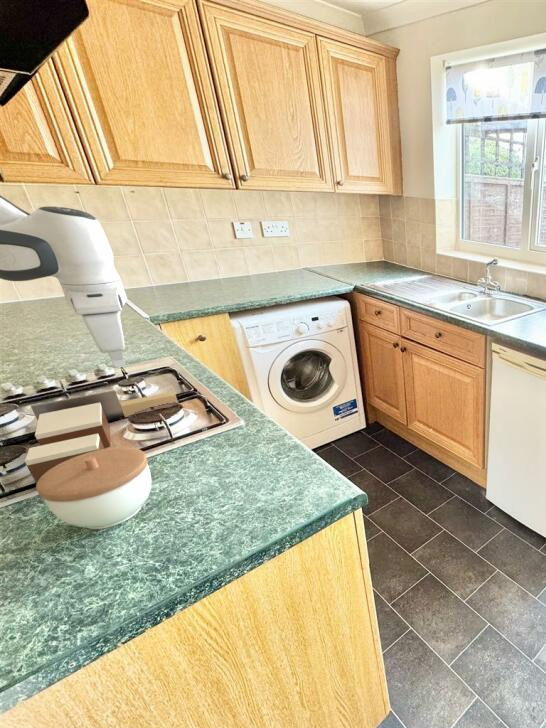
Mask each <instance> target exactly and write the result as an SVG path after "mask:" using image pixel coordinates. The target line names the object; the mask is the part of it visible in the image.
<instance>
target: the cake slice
mask: <svg viewBox="0 0 546 728" xmlns="http://www.w3.org/2000/svg"><path fill="white" fill-rule="evenodd" d="M101 449H105V448H104V446H103V444H102V442H101V439H100V437H99V435H98V434H93V435H89V436H84V437H79V438H75V439H70V440H65V441H60V442H56V443H51V444H46V445H42V446H40V445H38V446H32V447H29V448H28V451H27V453H26V456H25V458H24V463H25V465H26V467H27V469H28V471H29V472H30V473H29V474H31V476H32V478H33V480H34V482H35V485H37V482H38V480H39V479H40V478H41V476H43V475H44V474H45V473H46V472H47V471H49V470H50V469H51V468H53V467H55V466H56V465H58V464H60V463H62V462H64V461H66V460H69V459H71V458H74V457H76V456H79V455H82V454H85V453H89V452H92V451H96V450H101Z"/></svg>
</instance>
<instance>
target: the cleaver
mask: <svg viewBox="0 0 546 728" xmlns="http://www.w3.org/2000/svg"><path fill="white" fill-rule="evenodd" d="M173 402H178V403H179V401H178V398H177V396H176V392H175V391H169V392H164V393H160V394H154V395H150V396H144V397H139V398H134V399H129V400H124V401H120V399H119V397H118V393H117V391H116V390H115V389H114V390H113V389H112V390H108V391H102V392H98V393H93V394H87V395H79V396H75V397H70V398H65V399H59V400H54V401H47V402H44V403H37V404H31V405H30V408H31V410H32V412H33V413H34V417H35V419H36V420H37V421H38V419H39V415H40V414H43V413H49V412H54V411H59V410H64V409H69V408H74V407H79V406H84V405H90V404H95V403H100V404H101V406H102V409H103V411H104V414H105V416H106V419H107V420H110V419H111V420H112V419H116V418H120V417H124V418H129V417H130V416H129V415H131V414H134V413H135V412H138V411H141V410H143V409H146V408H149V407H153V406H158V405H162V404H166V403H173Z"/></svg>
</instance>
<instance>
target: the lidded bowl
mask: <svg viewBox="0 0 546 728" xmlns="http://www.w3.org/2000/svg"><path fill="white" fill-rule="evenodd" d="M148 462H149V461H148V458H147V455H146V453H145V452H144V451H143V450H141V449H139V448H135V447H130V446H115V447H105V448H104V449H101V450H96V451H92V452H89V453H85V454H82V455H79V456H76V457H74V458H71V459H69V460H66V461H64V462H62V463H60V464H58V465H56V466H55V467H53V468H51V469H50V470H49V471H47V472H46V473H45V474H44V475H43V476H41V478H40V479H39V480H38V482H37V484H35V489H36V491H37V493H38V495H39V497H41V498H42V500H43V501H44V503H45V505H46V506H47V508H48V509H49V510H50V512H51V513H52V514H53V515H54V516H55V517H56V518H57V519H59V520H60V521H62V522H64V523H66V524H68V525H70V526H74V527H78V528H79V527H80V528H86V529H90V530H103V529H108V528H112V527H115V526H117V525H120V524H122V523H125V522H127V521H128V520H130V519H131V518H133V517H134V516H136V515H137V514H138V513H139V512H140V510H141V509H142V506H143V505H144V504H145V503H146V501H147V500H148V498H149V495H150V494H151V491H152V483H153V482H152V474H151V473H152V472H151V469H150V467H149V464H148Z"/></svg>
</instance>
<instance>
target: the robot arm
mask: <svg viewBox="0 0 546 728" xmlns="http://www.w3.org/2000/svg"><path fill="white" fill-rule="evenodd" d="M114 259H115V256H114V253H113V250H112V247H111V245H110V242H109V240H108V237H107V235H106V233H105V231H104V228H103V227H102V225H101V223H100V222H99V220H98V219H97V218H96V216H94V215H92V214H90V213H88V212H86V211H83V210H80V209H76V208H75V209H74V208H69V207H63V206H49V205H48V206H41V207H38V208H36V210H34V212H32V213H29V212H28V211H26V210H24V209H22V208H20V207H19V206H17V205H16V204H15V203H13V202H11V201H10V200H9V199H7V198H5V197H4V196H2V195H1V194H0V280H3V281H8V282H30V281H35V280H38V279H42V278H48V277H51V278H52V277H53V278H56V279H57V280H58V282H59V284H60V287H61V289H62V292H63V294H64V298H65V300H66V302H67V305H68V307H70V308H71V309H73V310H74V312H75V313H76V315H78V316H81V317H82V320H83V322H84V324H85V326H86V328H87V330H88V332H89V334H90V336H91V338H92V340H93V341H94V343H95V345H96V347H97V348H98V350H99V351H100V352H101V353H102V354H103V353H104V354H107V355H108V357H109V358H110V360H111V363H112V366H113V367H114V368H116V369H117V368H124V367H125V366H126V362H125V359H124V355H123V351H124V350H125V349H126V344H125V343H126V342H125V336H124V332H123V331H124V330H123V326H122V325H123V324H122V320H121V319H122V318H121V313H122V311H123V307H124V306H125V304H126V303H128V301H129V300H128V297H127V294H126V291H125V287H124V284H123V281H122V279H121V276H120V274H119V273H118V271H117V269H116V267H115V263H114V262H115V261H114Z"/></svg>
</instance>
